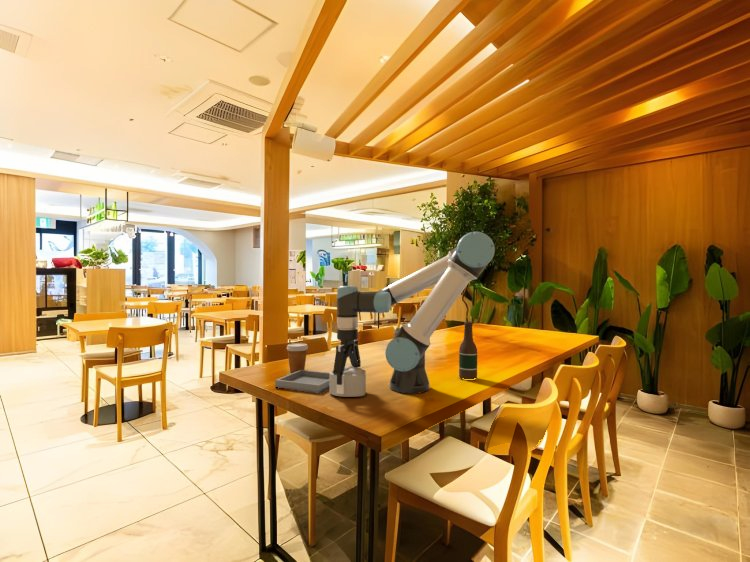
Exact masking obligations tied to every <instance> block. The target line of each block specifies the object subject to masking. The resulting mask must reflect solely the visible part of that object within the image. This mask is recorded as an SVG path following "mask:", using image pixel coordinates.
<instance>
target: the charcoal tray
mask: <svg viewBox="0 0 750 562" xmlns="http://www.w3.org/2000/svg"><path fill="white" fill-rule="evenodd" d="M329 374H330V372H327V371H325V372H324V371H317V370H309V369H308V370H307V369H306V370H305V369H304V370H299V371H296V372H294V373H292V372H290V374H288V375H285V376H282V377H279V378H276V379H275V381H274V388H275V387H279V388H285V389H284V390H287V389H291V390H290V391H294V390H297V392H302V391H304V392H303V393H311V394H321V393H323V392H325V391H326V390H329V389H330V386H329V382H330V380H329ZM279 388H278V389H279Z"/></svg>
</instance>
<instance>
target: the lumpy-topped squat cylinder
mask: <svg viewBox="0 0 750 562" xmlns="http://www.w3.org/2000/svg"><path fill="white" fill-rule="evenodd" d="M329 373H330V374H329V380H330V382H329V386H330V388H329V394H330V395H333V396H336V397H337V396H338V397H346V398H347V397H348V398H350V397H355V398H356V397H362V396H365V395H366V391H367V389H366V388H367V386H366V385H367V384H366V382H367V380H366V379H367V378H366V377H367V375H366V373H367V371H366V370H365V369H363V368H361V367H358V368H353V367H352V365H347V366H345V369H344V373H343V375H344V391H345V394H338V393H337V378H336V375H334V374H333V370H331V371H329Z"/></svg>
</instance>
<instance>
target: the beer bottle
mask: <svg viewBox="0 0 750 562" xmlns="http://www.w3.org/2000/svg"><path fill="white" fill-rule="evenodd" d="M463 323H464V329H463V333H464V334H463V340H462V341H461V342H460V346H459V349H458V351H459V353H458V355H459V357H458V359H459V360H458V376H459V379H460V378H464V379H474V378H477V379H478V348H477V345H476V343H475V341H474V338H473V337H474V335H473V322H472V321H464V322H463Z"/></svg>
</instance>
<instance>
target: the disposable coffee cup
mask: <svg viewBox="0 0 750 562" xmlns="http://www.w3.org/2000/svg"><path fill="white" fill-rule="evenodd" d="M308 348H309V346H308V344H307V343H303V342H301V343H300V342H296V343H295V342H294V343H289V344H287V346H286V350H287V357H288V366H289V372H290V373H294V372H296V371H299V370H305V368H306V360H307V352H308Z"/></svg>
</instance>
